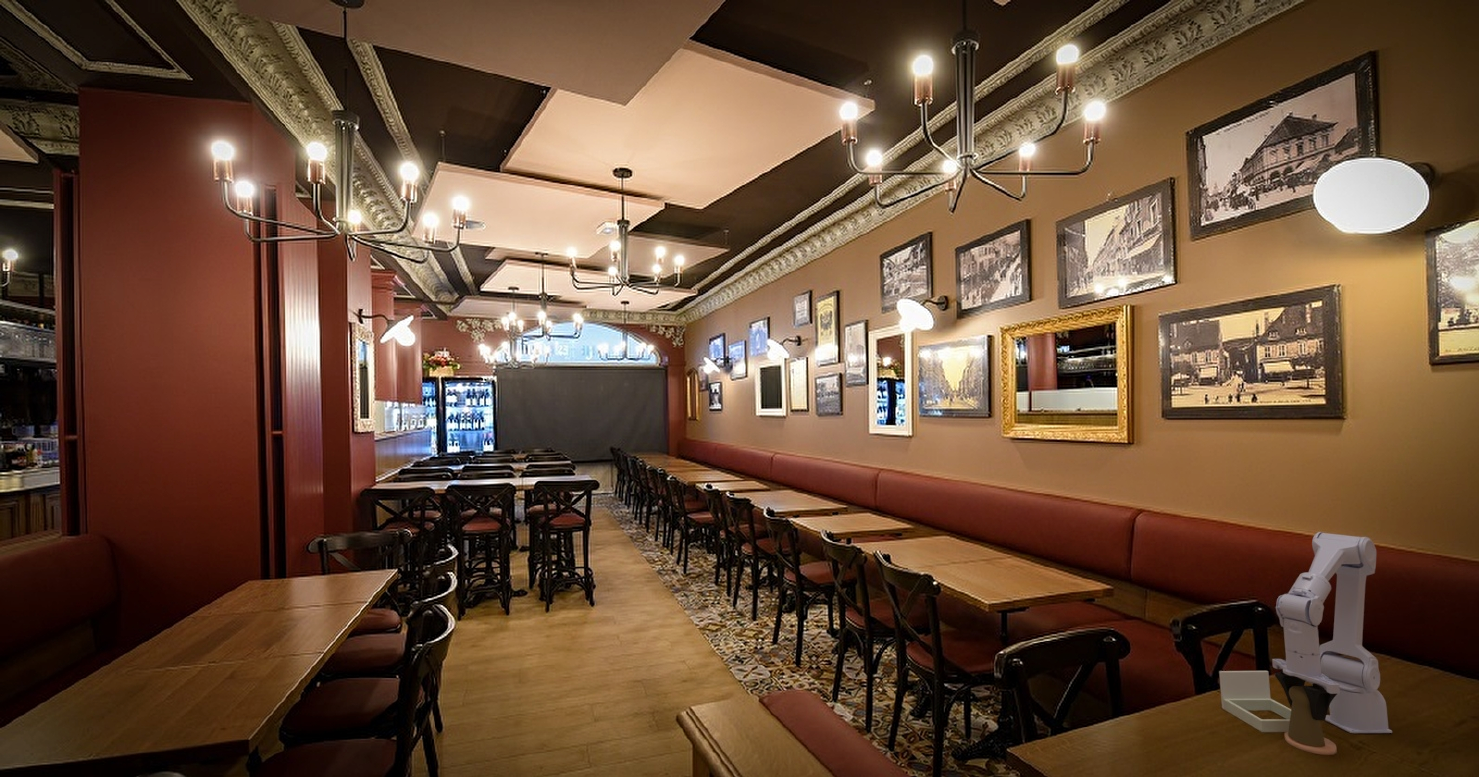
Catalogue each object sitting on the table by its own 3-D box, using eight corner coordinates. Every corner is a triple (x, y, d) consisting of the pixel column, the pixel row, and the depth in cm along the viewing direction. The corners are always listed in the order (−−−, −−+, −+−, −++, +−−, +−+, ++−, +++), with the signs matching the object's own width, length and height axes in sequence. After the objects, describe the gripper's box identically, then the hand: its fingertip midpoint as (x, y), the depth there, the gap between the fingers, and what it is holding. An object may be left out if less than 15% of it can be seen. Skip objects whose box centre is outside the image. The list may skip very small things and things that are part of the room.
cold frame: (1269, 707, 152) (1266, 670, 153) (1313, 731, 140) (1310, 691, 140) (1222, 707, 152) (1219, 671, 153) (1262, 731, 140) (1258, 691, 141)
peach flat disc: (1312, 734, 138) (1312, 730, 138) (1348, 754, 130) (1347, 749, 130) (1274, 735, 139) (1274, 730, 139) (1307, 754, 130) (1307, 749, 130)
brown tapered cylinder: (1332, 748, 131) (1330, 694, 132) (1300, 744, 132) (1298, 691, 133) (1312, 735, 137) (1309, 684, 138) (1281, 731, 138) (1279, 681, 139)
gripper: (1257, 639, 143) (1262, 699, 142) (1313, 662, 129) (1318, 729, 128) (1288, 639, 143) (1292, 698, 142) (1347, 662, 128) (1353, 729, 127)
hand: (1307, 713), depth 135 cm, fingers closed on brown tapered cylinder, 5 cm apart
